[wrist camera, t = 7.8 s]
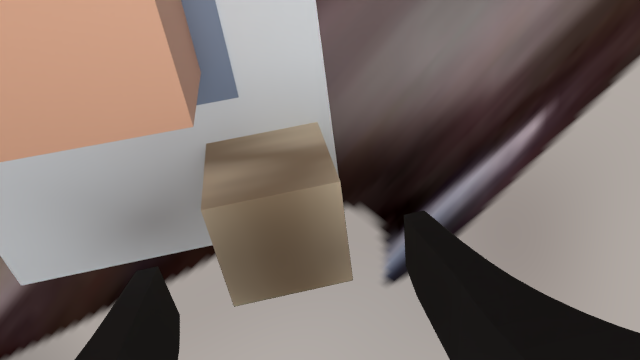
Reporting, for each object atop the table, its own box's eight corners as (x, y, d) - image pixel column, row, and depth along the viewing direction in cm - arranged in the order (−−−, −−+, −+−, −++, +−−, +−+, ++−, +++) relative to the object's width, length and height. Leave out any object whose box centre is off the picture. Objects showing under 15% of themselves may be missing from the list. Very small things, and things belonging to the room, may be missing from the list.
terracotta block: (40, 100, 14) (-16, 164, 11) (-50, -83, 12) (-159, -69, 8) (200, 72, 15) (193, 126, 11) (150, -111, 12) (121, -110, 9)
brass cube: (232, 230, 18) (234, 306, 15) (206, 143, 16) (200, 210, 13) (330, 210, 19) (353, 280, 15) (317, 121, 17) (340, 181, 13)
